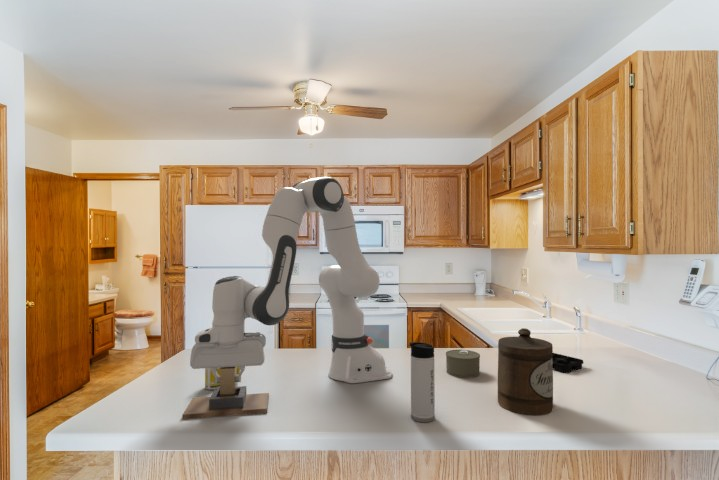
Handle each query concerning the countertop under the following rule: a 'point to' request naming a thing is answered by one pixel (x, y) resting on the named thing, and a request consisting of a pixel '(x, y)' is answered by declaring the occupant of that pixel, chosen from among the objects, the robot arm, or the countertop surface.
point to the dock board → (251, 406)
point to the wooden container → (525, 374)
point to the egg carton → (565, 363)
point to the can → (463, 363)
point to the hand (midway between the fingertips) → (228, 382)
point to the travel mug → (422, 382)
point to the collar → (227, 399)
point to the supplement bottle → (211, 379)
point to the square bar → (227, 381)
